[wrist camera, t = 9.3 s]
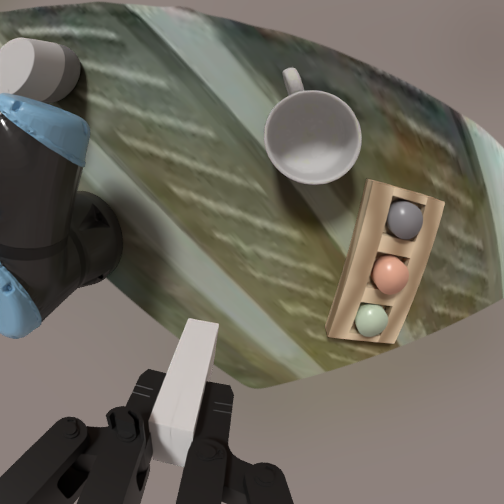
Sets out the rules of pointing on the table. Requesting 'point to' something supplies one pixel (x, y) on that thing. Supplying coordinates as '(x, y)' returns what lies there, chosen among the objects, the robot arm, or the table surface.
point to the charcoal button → (404, 219)
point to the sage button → (370, 319)
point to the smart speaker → (38, 69)
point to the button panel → (372, 247)
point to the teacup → (311, 134)
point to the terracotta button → (389, 274)
